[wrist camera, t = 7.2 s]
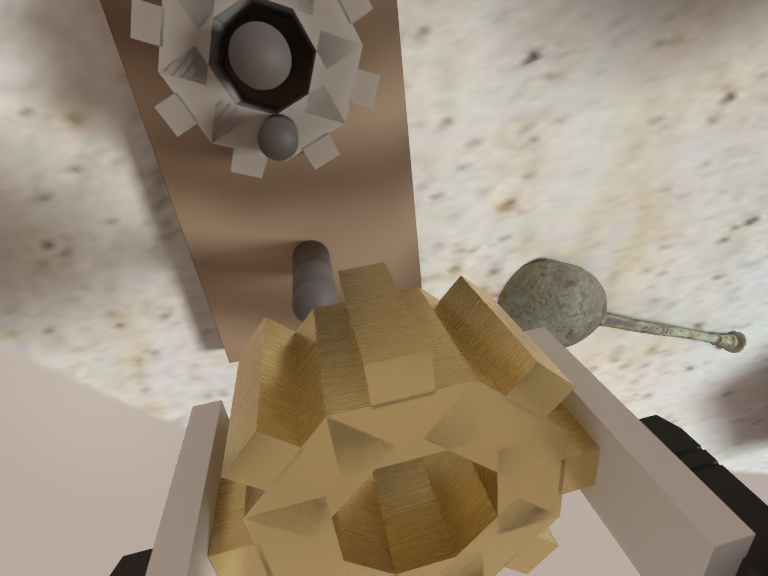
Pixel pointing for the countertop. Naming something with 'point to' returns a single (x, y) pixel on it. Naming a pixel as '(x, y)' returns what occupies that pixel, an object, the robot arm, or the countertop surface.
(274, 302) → the gear board
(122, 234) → the countertop surface
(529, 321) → the soupspoon
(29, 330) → the countertop surface
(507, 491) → the brass gear
